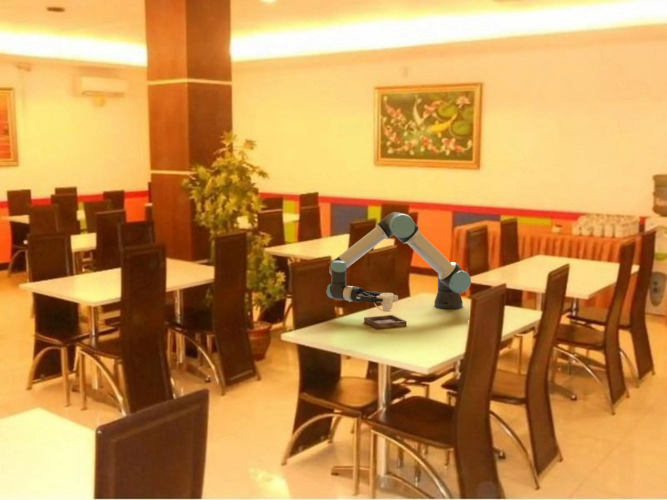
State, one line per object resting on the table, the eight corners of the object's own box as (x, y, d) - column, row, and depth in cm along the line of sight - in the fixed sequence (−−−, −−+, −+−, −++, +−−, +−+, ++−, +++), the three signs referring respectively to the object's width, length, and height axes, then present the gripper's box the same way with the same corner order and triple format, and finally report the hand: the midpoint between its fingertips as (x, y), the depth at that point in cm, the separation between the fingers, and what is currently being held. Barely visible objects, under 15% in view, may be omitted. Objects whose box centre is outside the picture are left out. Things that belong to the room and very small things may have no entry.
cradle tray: (392, 319, 353) (392, 314, 353) (406, 326, 339) (406, 321, 339) (364, 322, 348) (364, 317, 348) (377, 329, 334) (377, 324, 333)
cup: (392, 312, 338) (391, 296, 336) (372, 311, 341) (371, 295, 340) (396, 309, 344) (395, 293, 343) (376, 308, 348) (376, 292, 346)
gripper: (365, 298, 361) (404, 303, 347) (342, 304, 346) (381, 310, 332) (365, 283, 360) (404, 288, 346) (342, 289, 345) (381, 295, 331)
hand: (393, 299), depth 339 cm, fingers closed on cup, 7 cm apart
